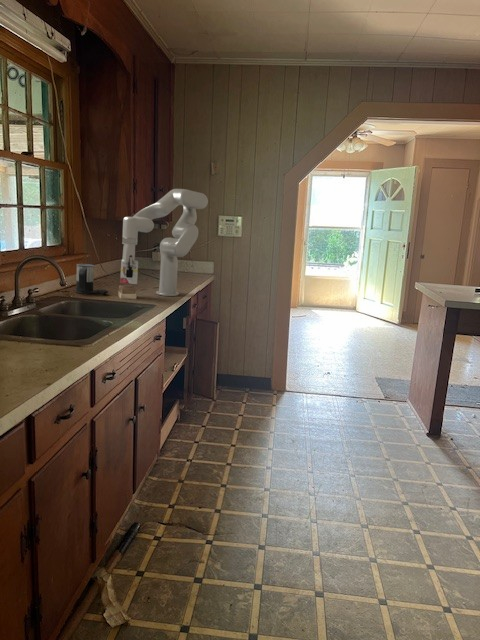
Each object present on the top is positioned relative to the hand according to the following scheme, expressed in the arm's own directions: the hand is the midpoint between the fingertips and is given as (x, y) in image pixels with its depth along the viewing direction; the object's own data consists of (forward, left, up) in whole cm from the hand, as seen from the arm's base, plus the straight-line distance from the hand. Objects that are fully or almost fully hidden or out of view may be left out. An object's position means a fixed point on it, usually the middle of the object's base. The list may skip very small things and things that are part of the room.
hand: (128, 276), depth 250 cm
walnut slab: (0, 0, -9) cm, 9 cm away
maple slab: (0, 0, -12) cm, 12 cm away
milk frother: (-9, -17, -11) cm, 23 cm away
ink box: (0, 0, -4) cm, 4 cm away
